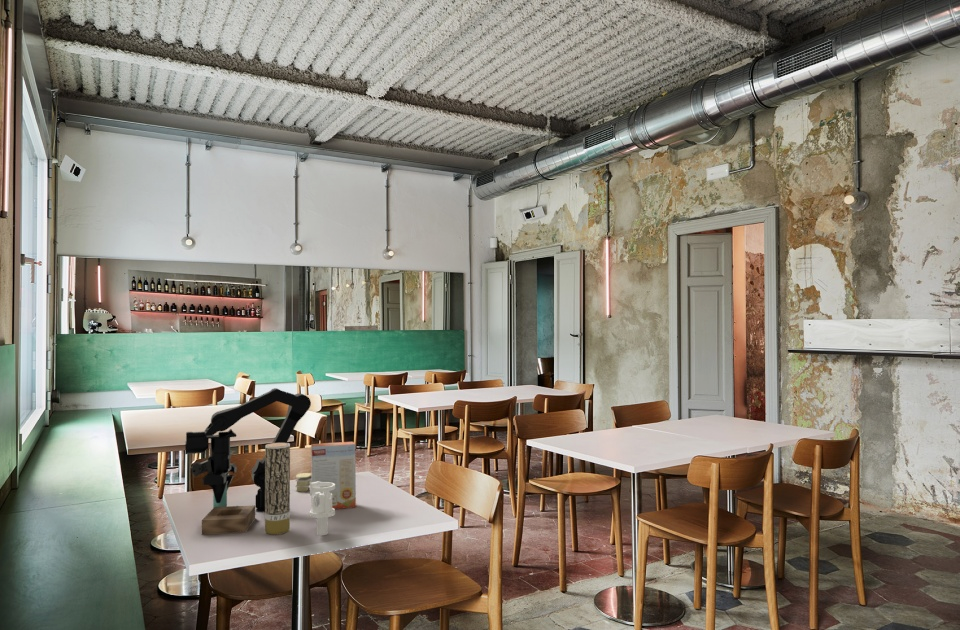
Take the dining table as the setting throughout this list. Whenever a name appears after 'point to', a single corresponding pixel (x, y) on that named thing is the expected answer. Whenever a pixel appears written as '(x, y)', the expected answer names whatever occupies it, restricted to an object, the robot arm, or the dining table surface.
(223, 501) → the peg
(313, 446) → the cracker box
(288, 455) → the paper tube
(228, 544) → the dining table surface
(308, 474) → the stacked layers on plate
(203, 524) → the socket block
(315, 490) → the white plastic upright piece
